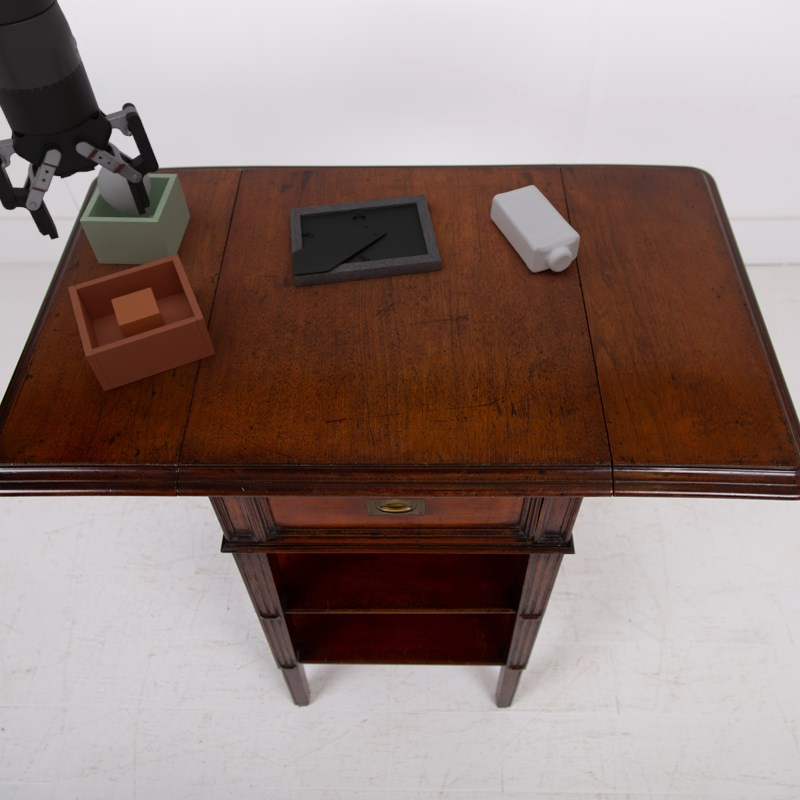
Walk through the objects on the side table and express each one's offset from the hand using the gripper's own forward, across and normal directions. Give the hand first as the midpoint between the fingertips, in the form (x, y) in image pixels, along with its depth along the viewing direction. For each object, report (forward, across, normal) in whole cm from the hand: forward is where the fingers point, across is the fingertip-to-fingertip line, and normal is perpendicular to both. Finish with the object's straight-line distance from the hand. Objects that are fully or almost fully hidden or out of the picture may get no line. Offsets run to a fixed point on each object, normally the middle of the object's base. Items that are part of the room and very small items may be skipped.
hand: (98, 222), depth 75 cm
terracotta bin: (+17, 0, 0) cm, 17 cm away
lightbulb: (+16, +4, +18) cm, 24 cm away
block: (+16, 0, 0) cm, 16 cm away
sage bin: (+17, +4, +18) cm, 25 cm away
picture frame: (+17, +29, +4) cm, 34 cm away
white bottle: (+16, +48, -5) cm, 51 cm away
